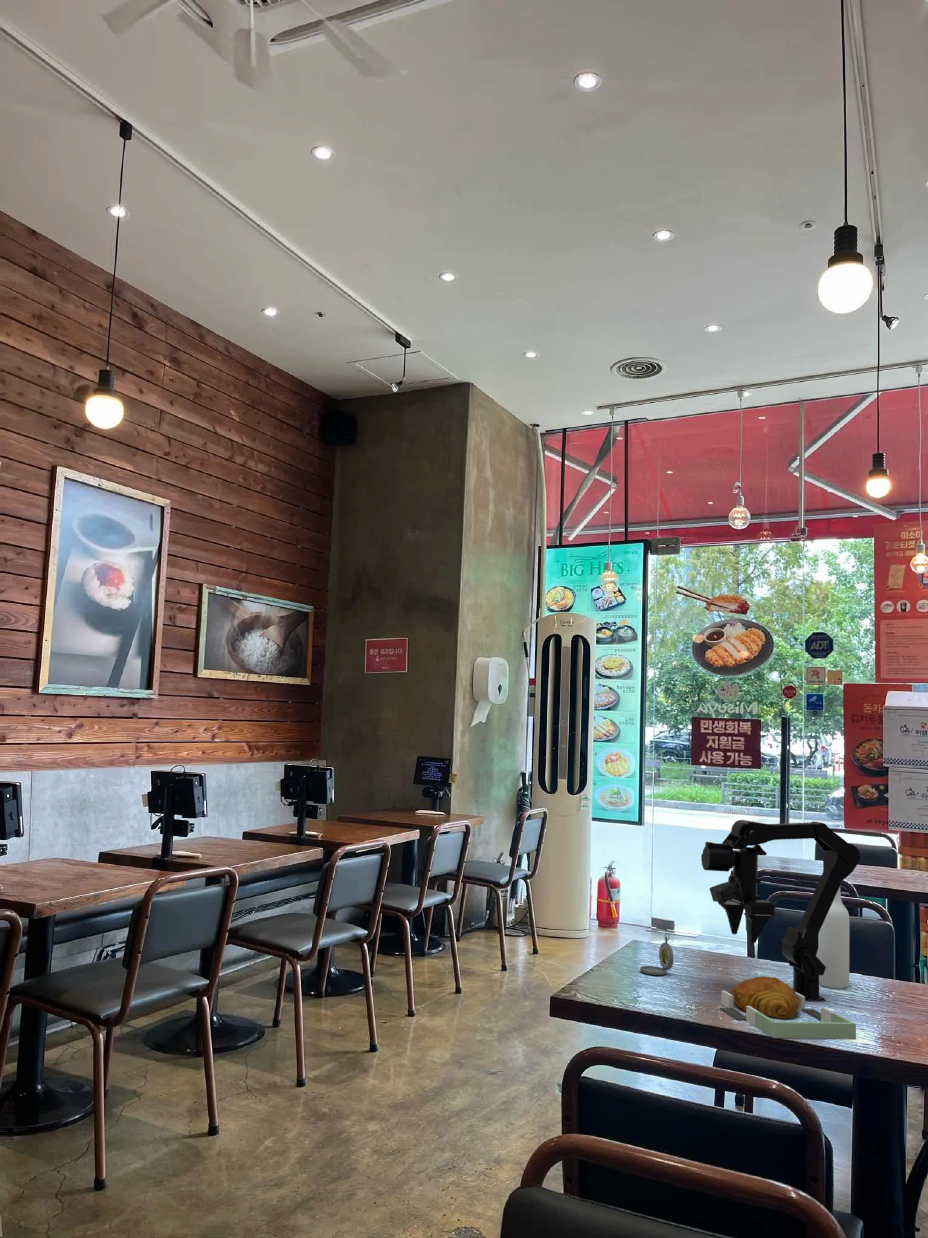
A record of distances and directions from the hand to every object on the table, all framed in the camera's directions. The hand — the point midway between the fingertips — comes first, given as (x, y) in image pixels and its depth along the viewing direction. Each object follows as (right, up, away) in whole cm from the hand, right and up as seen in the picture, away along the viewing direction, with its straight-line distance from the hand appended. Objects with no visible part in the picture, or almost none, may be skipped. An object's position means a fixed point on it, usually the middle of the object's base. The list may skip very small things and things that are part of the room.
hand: (743, 938), depth 221 cm
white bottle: (+27, -17, +13) cm, 34 cm away
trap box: (+3, -11, -22) cm, 24 cm away
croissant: (+1, -12, -13) cm, 18 cm away
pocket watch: (-18, -14, +14) cm, 27 cm away
